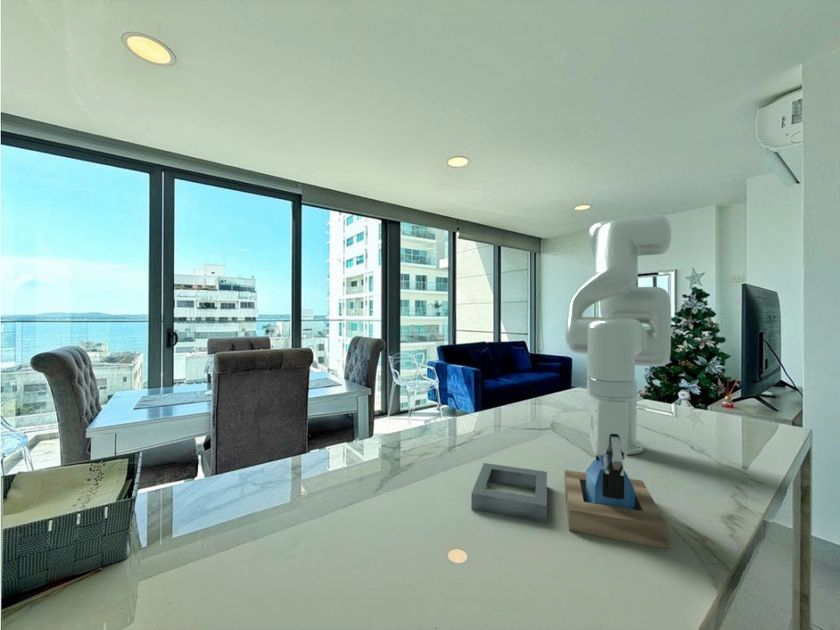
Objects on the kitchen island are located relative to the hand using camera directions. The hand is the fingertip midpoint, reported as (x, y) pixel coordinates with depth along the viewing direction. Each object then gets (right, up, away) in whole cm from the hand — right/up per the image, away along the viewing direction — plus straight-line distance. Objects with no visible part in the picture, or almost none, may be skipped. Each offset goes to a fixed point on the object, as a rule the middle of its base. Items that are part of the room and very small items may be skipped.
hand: (608, 485), depth 66 cm
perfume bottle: (0, -5, 0) cm, 5 cm away
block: (-16, -5, +6) cm, 18 cm away
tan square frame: (0, -5, 0) cm, 5 cm away
